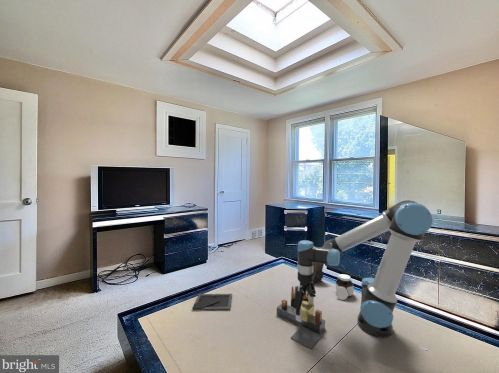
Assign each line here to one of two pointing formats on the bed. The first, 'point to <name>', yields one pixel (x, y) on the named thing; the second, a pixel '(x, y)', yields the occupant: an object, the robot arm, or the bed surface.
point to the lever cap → (307, 311)
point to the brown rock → (317, 272)
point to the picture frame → (213, 302)
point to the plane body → (313, 324)
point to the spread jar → (344, 287)
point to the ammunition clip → (294, 296)
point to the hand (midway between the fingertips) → (304, 314)
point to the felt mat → (306, 337)
